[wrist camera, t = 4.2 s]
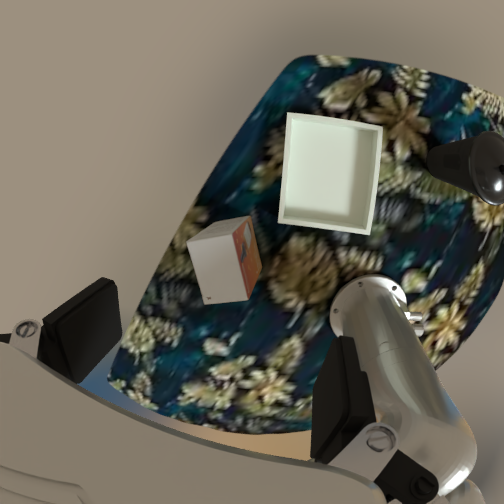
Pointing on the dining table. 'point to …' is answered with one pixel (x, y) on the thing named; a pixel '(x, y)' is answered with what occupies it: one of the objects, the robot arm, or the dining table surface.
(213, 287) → the small box
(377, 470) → the robot arm
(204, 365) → the dining table surface
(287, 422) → the dining table surface
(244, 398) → the dining table surface
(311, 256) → the dining table surface
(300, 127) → the tray
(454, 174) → the drinking cup
